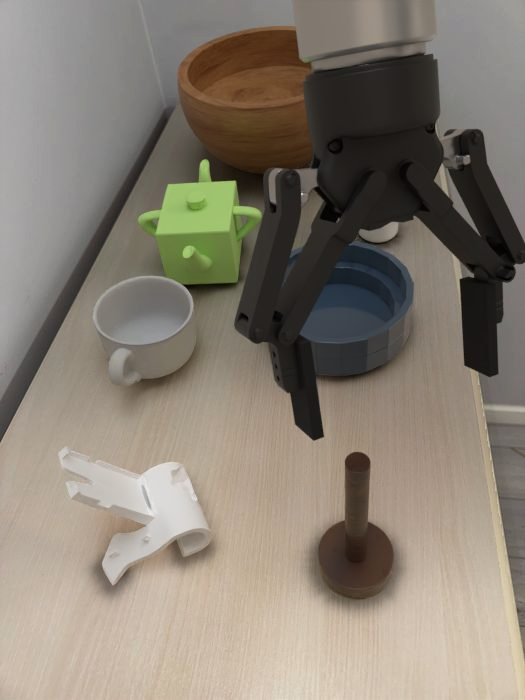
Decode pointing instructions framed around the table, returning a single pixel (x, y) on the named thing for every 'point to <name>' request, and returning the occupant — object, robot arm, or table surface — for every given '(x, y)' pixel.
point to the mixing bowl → (359, 311)
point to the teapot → (201, 230)
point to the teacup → (145, 328)
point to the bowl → (249, 99)
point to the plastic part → (140, 508)
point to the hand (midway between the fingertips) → (399, 399)
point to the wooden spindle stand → (356, 540)
